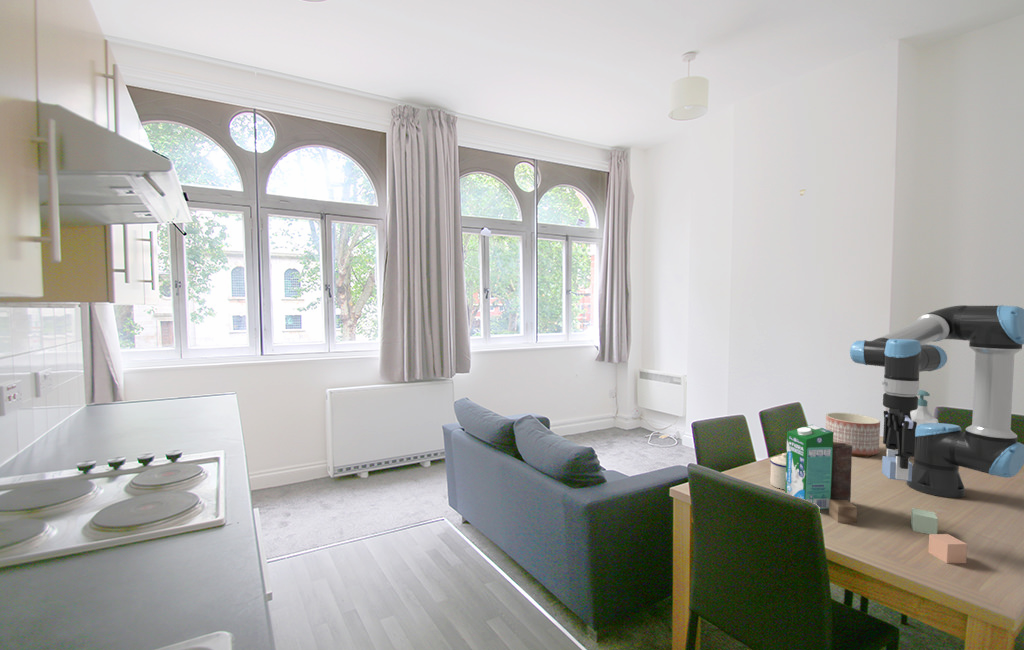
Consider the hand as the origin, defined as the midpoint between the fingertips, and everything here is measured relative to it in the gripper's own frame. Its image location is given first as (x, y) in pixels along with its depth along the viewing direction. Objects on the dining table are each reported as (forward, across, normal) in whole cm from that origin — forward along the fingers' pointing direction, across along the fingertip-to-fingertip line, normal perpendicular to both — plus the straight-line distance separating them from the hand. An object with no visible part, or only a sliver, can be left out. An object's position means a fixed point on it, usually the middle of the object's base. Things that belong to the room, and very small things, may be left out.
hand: (896, 475), depth 130 cm
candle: (+17, -17, -9) cm, 26 cm away
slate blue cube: (+1, 0, 0) cm, 1 cm away
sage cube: (+17, -5, +9) cm, 20 cm away
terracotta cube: (+17, +11, +7) cm, 21 cm away
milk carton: (+17, -14, -18) cm, 28 cm away
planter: (+17, -82, +16) cm, 85 cm away
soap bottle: (+17, -90, +44) cm, 102 cm away
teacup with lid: (+17, -29, -21) cm, 40 cm away
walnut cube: (+17, -5, -11) cm, 21 cm away
